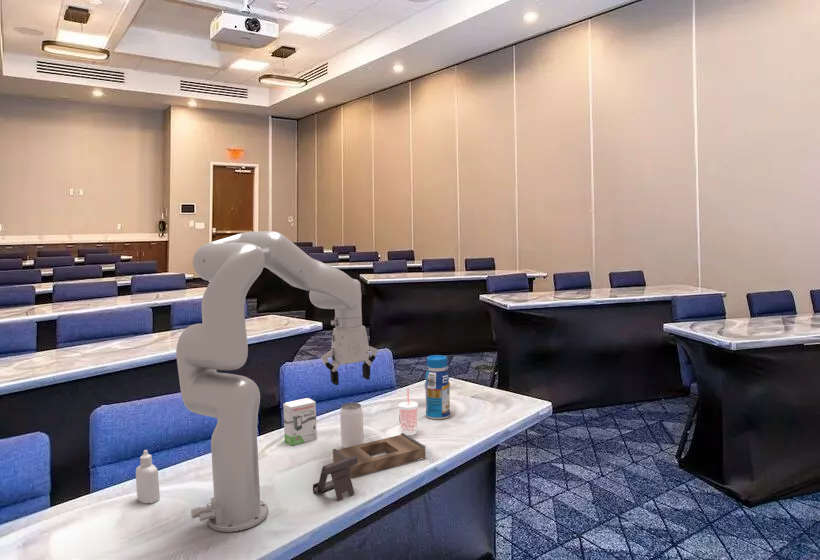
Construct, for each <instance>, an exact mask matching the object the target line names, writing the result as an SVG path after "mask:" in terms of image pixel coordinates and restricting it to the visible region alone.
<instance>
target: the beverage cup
mask: <svg viewBox="0 0 820 560" xmlns="http://www.w3.org/2000/svg"><path fill="white" fill-rule="evenodd" d="M409 389H410V388H409V387H408V388H406V393H407V394H406V395H407V396H406V397H407V398H406V399H407V401H402V402H399V403H398V404H397V405H398V409H399V419H400V431H401V433H404V434H406V435H410V436H414V434H415V435H416V434H417V433H418V431H417V428H418V408H419V403H418V402H417V401H410V390H409ZM401 433H400V434H401Z"/></svg>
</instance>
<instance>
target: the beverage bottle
mask: <svg viewBox="0 0 820 560" xmlns="http://www.w3.org/2000/svg"><path fill="white" fill-rule="evenodd" d="M426 366H427V368H428V369H427V371H426V373H425V375H424V380H425V382H424V389H425V416H426V417H427V418H428V419H431V420H444V419H447V418H449V417H451V416H450V415H451V409H450V407H451V406H450V405H451V404H450V403H451V400H450V392H451V391H450V388H451V383H450V381H449V380H450V378H451V377H450V374H449V372H448V370H447V369H446V368H447V367H448V357H447V356H446V355H441V354H434V355H428V356H427V357H426Z"/></svg>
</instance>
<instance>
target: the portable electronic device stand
mask: <svg viewBox="0 0 820 560" xmlns="http://www.w3.org/2000/svg"><path fill="white" fill-rule="evenodd" d="M357 463H358V459H357V457H356V456H355V455H354V456H351V457H348V458H345V459H343V460H340V461H337V462H332V463H329V464H325V465H323V466H322V468H321V471H320V476H319V479H318V482H315V483H313V484H312V492H313V494H314V495H318V494H321V493H323V492H326V491H329V490H331V489H333V488H334V493H335V495H336V500H337V501H338V502H340V501H343V500H344V496H343V494H345V493H348V495H349V497H352V496H354V495H355V490H354V487H353V482H352V478H351V477H350V474H349V472H350V468H351V466H353V465H356V464H357ZM328 475H330V476H331V480H330V481H329V480H328V481H327V479H328Z"/></svg>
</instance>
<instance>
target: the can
mask: <svg viewBox="0 0 820 560" xmlns="http://www.w3.org/2000/svg"><path fill="white" fill-rule="evenodd" d="M339 414H340V419H339V420H340V438H341V439H340V440H341V441H340V444H341V448H342V449H343V448H347V447H351V446H355V445H360V444H364V437H365V436H364V411H363V408H362V405H361V404H360V403H359V402H357V403H356V402H348V403H344V404H342V405H341V409H340V413H339Z"/></svg>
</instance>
